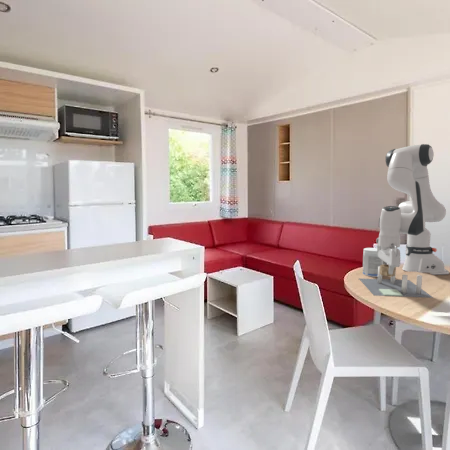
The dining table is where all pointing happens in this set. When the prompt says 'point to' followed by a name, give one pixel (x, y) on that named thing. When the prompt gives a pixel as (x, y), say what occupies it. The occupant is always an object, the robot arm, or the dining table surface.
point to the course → (396, 286)
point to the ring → (386, 270)
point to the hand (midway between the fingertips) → (387, 271)
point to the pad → (390, 292)
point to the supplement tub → (371, 262)
